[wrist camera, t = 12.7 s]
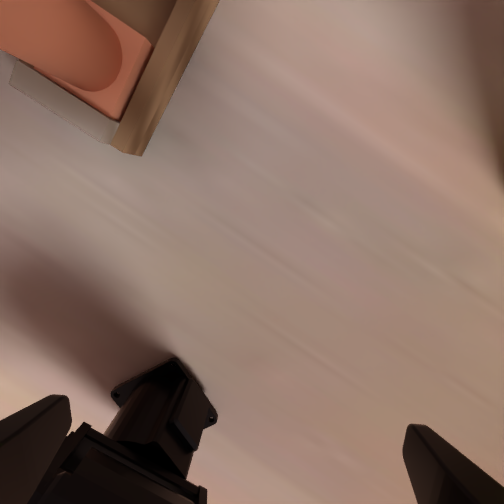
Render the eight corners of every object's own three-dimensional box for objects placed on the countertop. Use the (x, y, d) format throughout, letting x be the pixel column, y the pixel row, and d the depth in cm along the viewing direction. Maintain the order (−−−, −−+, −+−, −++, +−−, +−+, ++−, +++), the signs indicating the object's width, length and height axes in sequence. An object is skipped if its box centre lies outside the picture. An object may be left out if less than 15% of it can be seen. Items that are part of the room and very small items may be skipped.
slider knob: (125, 124, 17) (-133, 17, 6) (58, 80, 17) (-349, -118, 6) (159, 53, 16) (-80, -228, 5) (87, 5, 16) (-336, -411, 5)
